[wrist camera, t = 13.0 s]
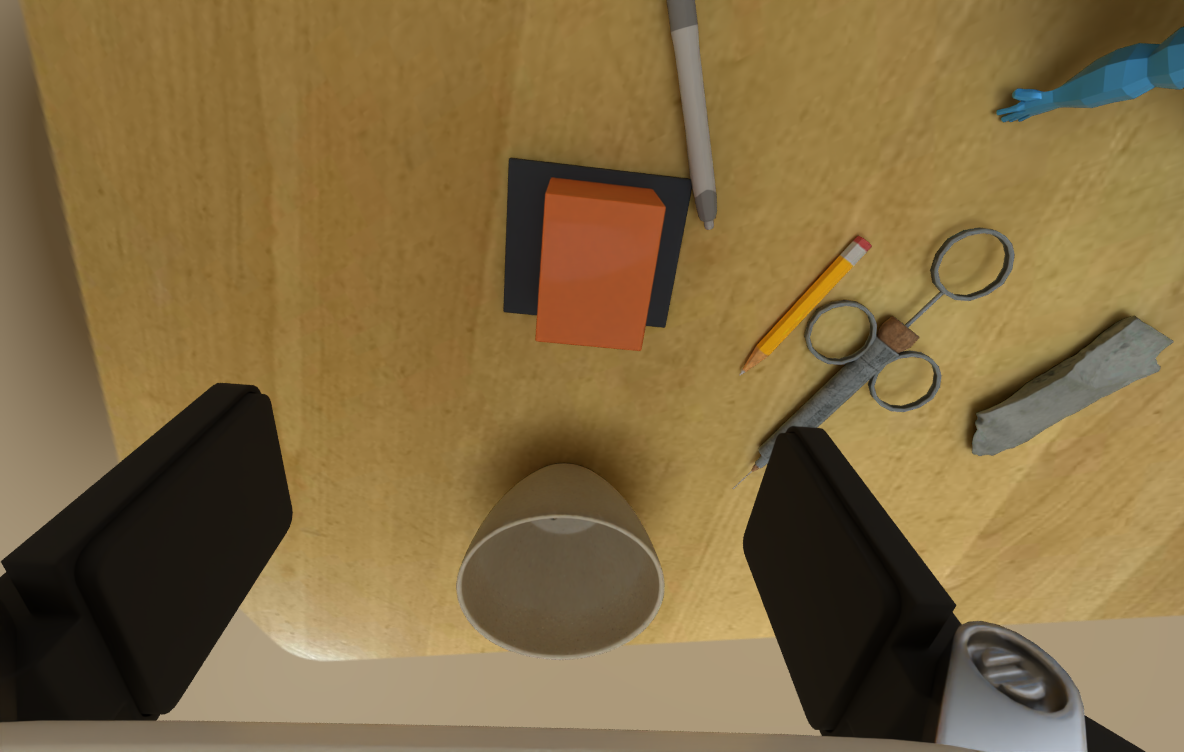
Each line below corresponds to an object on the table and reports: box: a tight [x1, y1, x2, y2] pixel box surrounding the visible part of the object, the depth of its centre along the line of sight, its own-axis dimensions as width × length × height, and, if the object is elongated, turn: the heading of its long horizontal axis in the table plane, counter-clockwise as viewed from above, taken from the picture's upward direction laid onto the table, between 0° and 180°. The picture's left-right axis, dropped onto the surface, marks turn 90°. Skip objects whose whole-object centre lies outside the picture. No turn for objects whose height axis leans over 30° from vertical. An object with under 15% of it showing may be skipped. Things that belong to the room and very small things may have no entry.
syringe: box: [733, 228, 1015, 489], centre depth 27 cm, size 8×18×2 cm, turn 145°
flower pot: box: [456, 463, 664, 660], centre depth 29 cm, size 10×10×7 cm
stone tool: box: [972, 316, 1174, 456], centre depth 29 cm, size 10×2×5 cm
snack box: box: [535, 178, 666, 351], centre depth 23 cm, size 6×4×4 cm
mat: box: [504, 158, 692, 328], centre depth 25 cm, size 8×7×1 cm
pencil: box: [740, 236, 872, 375], centre depth 26 cm, size 1×9×1 cm
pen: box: [667, 0, 717, 230], centre depth 20 cm, size 1×14×1 cm, turn 13°
